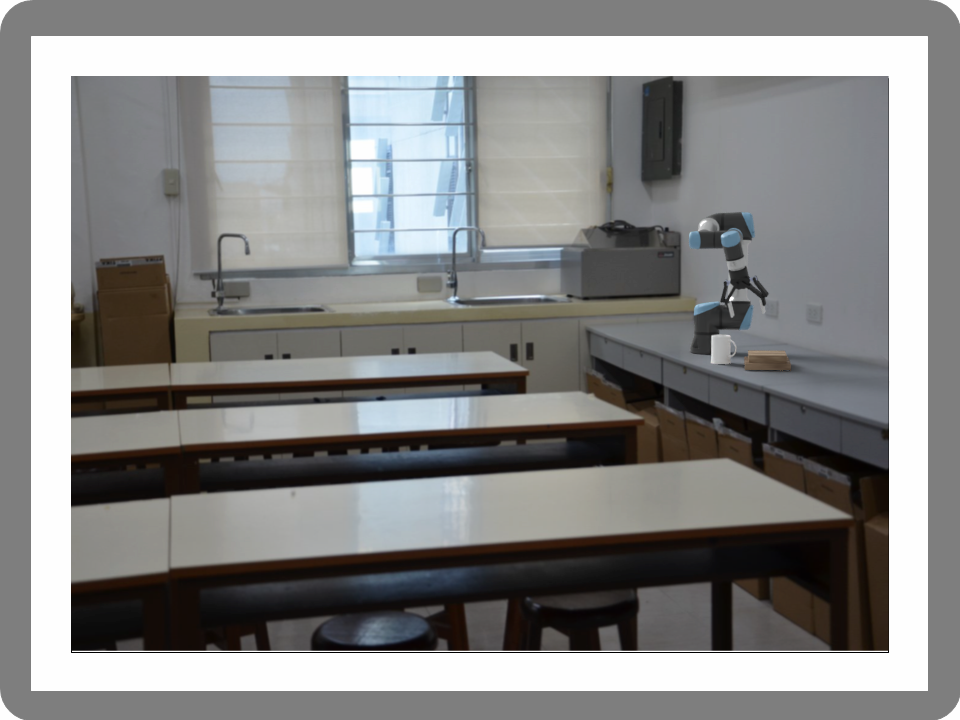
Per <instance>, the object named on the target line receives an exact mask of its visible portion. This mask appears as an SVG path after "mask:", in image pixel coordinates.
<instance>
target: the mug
mask: <svg viewBox="0 0 960 720" xmlns="http://www.w3.org/2000/svg"><path fill="white" fill-rule="evenodd" d="M731 338H732V336H731V335H729V334H719V335H712V338H711V354H710V355H711V359H710V364H712V365H718V364H725V365H730V364H731V363H732V361H731V358H733V357H734V356H735V355H736V353H737V349H738V348H737V343H736V342H735V341H734V340H732V339H731ZM731 344H733V346H734V352H733V353H732V354H731V351H732V350H731V349H732V348H731V346H732V345H731ZM729 363H730V364H729Z"/></svg>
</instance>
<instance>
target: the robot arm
mask: <svg viewBox="0 0 960 720" xmlns="http://www.w3.org/2000/svg"><path fill="white" fill-rule="evenodd" d="M754 224H755V223H754V217H753V214H752V213H751V212H745V211H744V212H743V211H738V212H737V211H735V212H718V213H717V212H716V213H712V214H710V215H707V216H706V217H704V218H702V219H701V220H700V222H699V223H698V226H697V230H695V231H690V232H689V237H688V245H689V249H691V250H692V249H693V250H706V249H708V250H709V249H713V250H715V249H717V250H718V249H723V250H722V251H723V254H724V257H725V261H726V265H727V270H728V279H725V280H724V281H723V288H722V293H721V297H720V300H719V301H710V302H703V303H698V304H696V305H695V306H694V309H693V337H692V341H691V344H690V346H689V352H690V353H691V354H700V355H711V338H712V335H720V331H748V330H750V328H751V327H752V323H753V322H752V321H753V317H754V315H753V314H754V308H755V306H754V305H753V304H751V300H750V299H749V297H748V290H749V291H751V293H753V294H754V295H756V297H758V298H759V299H758V301H759V305H760V309H761V310H760V311H761V314H762V315H765V313H767V311H766V307H765V306H766V305H767V301H766V300H767V299H766V298H767V297H768V296H769V294H770V293H769V292H768V291H767V288H765V287H764V285H763V284H762V283H761V282H760V281H759V278H758V276H757V275H754V276H751V277H750V275H749V245H750V244H751V243H752V241H753V239H754V238H756V233H755V225H754ZM751 282H752V283H753V284H754V285H753V284H752V283H751ZM755 286H756V287H755ZM727 295H728V296H727ZM726 296H727V297H726ZM721 303H724V304H721Z"/></svg>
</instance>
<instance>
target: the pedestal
mask: <svg viewBox="0 0 960 720" xmlns="http://www.w3.org/2000/svg"><path fill="white" fill-rule="evenodd" d="M743 361H744V362H743V364H744V365H745V366H744V371H745V370H780V371H779V372H784V371H783V370H790V371H789V372H791V371H792V363H791V360H790V358H789V357H788V355H787V353H786V350H762V349H761V350H759V349H757V350H755V349H754V350H747V356H744V359H743ZM781 370H782V371H781Z"/></svg>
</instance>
